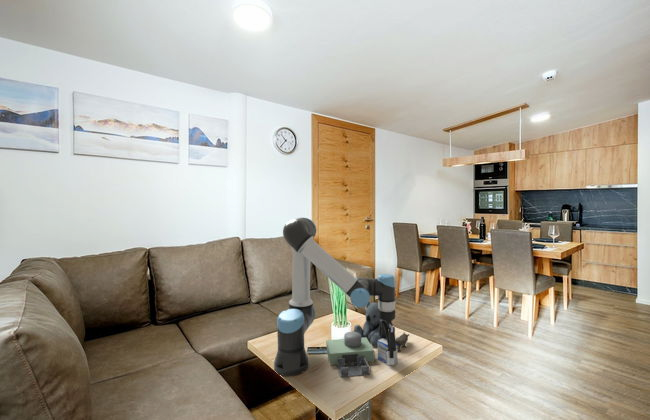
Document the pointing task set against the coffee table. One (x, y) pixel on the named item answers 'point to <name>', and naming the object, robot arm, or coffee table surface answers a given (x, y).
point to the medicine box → (385, 351)
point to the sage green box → (349, 348)
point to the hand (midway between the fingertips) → (387, 358)
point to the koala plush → (370, 324)
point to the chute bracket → (353, 367)
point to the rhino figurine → (401, 341)
